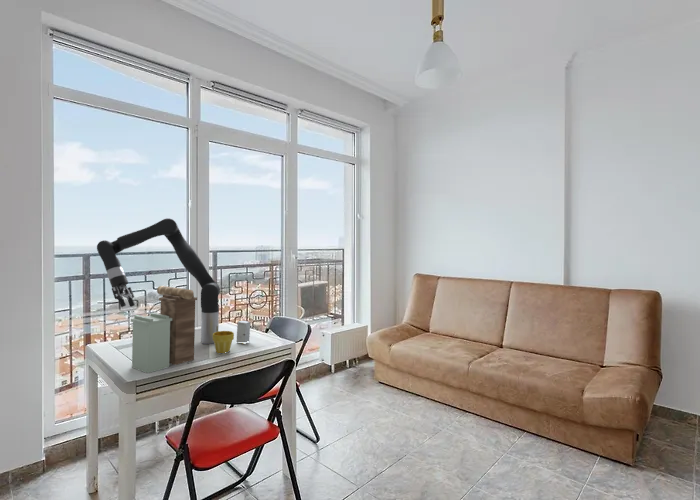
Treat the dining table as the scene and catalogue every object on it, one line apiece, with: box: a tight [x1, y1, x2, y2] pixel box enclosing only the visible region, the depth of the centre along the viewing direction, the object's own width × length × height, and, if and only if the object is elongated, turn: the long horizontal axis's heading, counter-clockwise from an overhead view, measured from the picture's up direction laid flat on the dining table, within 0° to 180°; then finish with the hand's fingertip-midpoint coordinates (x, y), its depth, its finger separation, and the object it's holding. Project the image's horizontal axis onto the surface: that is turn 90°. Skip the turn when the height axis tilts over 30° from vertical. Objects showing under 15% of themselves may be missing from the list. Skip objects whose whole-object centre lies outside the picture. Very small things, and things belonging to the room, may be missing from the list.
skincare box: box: [236, 320, 251, 342], centre depth 215 cm, size 6×4×12 cm
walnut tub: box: [158, 294, 198, 366], centre depth 182 cm, size 12×12×31 cm
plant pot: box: [213, 330, 235, 354], centre depth 198 cm, size 10×10×10 cm
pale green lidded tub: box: [130, 312, 172, 374], centre depth 171 cm, size 12×12×23 cm
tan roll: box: [156, 285, 195, 299], centre depth 183 cm, size 22×4×4 cm, turn 59°
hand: (128, 306), depth 196 cm, fingers open, 8 cm apart
